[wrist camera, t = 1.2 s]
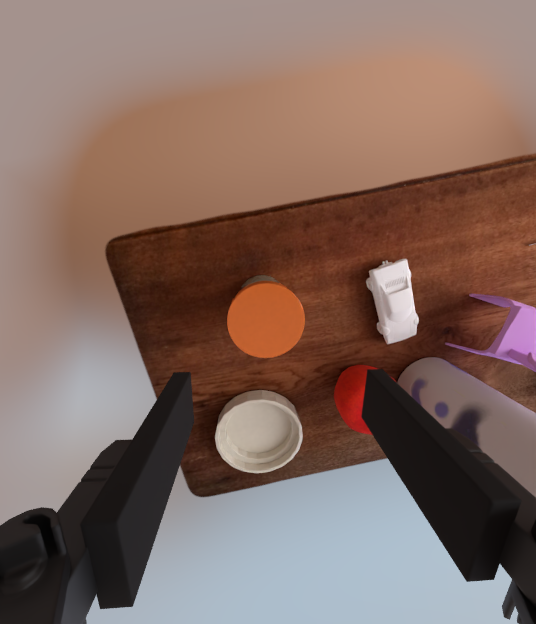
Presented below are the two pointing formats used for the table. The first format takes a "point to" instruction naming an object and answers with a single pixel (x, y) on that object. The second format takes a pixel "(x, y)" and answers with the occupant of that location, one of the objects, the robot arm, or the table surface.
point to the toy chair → (512, 333)
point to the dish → (258, 431)
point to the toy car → (393, 300)
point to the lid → (265, 319)
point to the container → (477, 415)
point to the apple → (352, 396)
